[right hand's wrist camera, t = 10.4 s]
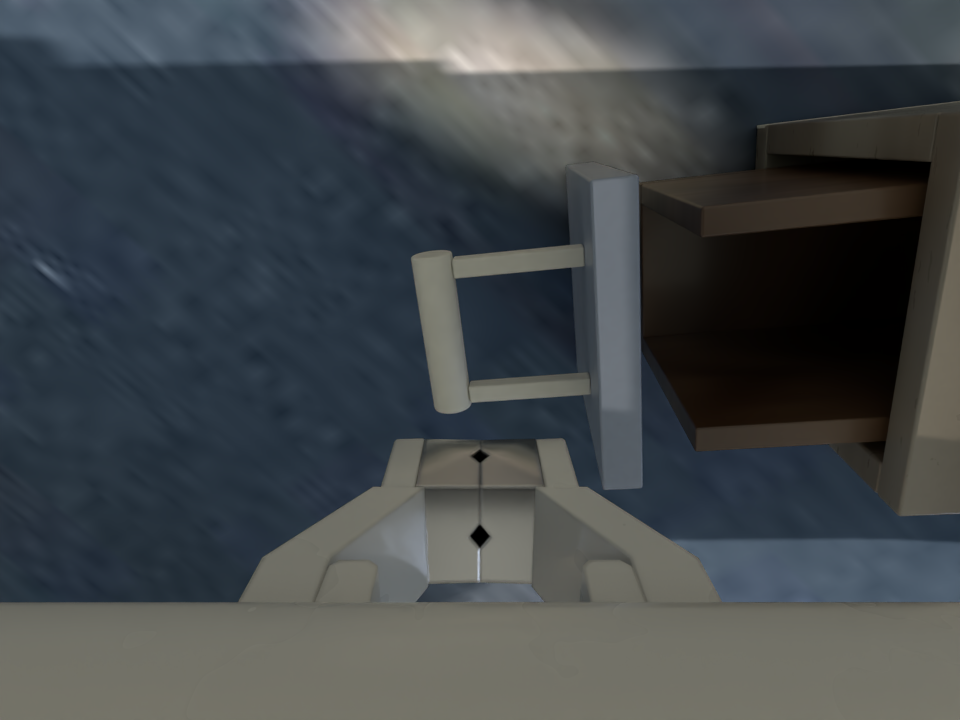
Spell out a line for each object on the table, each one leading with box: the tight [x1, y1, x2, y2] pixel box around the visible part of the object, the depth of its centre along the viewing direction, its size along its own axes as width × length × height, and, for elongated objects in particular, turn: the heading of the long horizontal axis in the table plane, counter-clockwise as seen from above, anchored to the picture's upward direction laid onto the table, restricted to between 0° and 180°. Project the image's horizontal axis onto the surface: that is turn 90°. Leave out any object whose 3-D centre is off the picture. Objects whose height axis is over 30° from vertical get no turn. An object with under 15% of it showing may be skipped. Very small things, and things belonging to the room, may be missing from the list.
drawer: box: [411, 158, 931, 490], centre depth 19 cm, size 26×9×10 cm, turn 96°
